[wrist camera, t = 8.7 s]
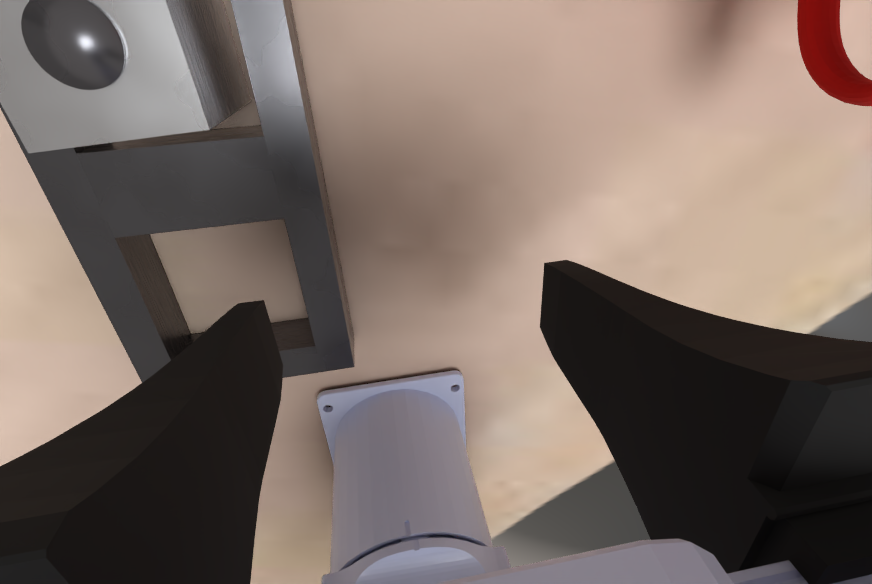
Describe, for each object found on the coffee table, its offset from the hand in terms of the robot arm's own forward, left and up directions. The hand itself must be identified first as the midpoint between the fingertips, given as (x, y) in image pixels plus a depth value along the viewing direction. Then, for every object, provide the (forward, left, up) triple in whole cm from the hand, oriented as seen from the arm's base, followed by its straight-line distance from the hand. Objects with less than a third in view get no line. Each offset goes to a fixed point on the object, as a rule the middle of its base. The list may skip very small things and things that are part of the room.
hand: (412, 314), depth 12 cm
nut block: (+7, +7, -10) cm, 13 cm away
